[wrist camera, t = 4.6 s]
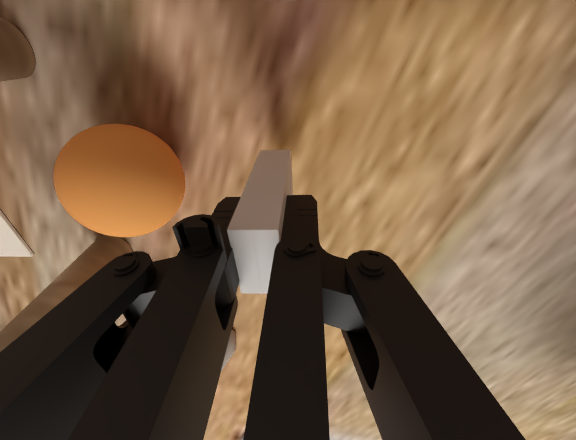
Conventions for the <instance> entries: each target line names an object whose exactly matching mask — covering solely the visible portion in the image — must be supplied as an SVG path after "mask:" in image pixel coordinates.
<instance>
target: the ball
mask: <svg viewBox="0 0 576 440" xmlns="http://www.w3.org/2000/svg"><path fill="white" fill-rule="evenodd" d="M53 179H54V186H55V190H56V193H57V196H58V198H59V200H60V202H61V204H62V205H63V207H64V208H65V210H66V211H67V212H68V213H69V214H70V215H71V216H72V217H73V218H74V219H75V220H76V221H78V222H79V223H80V224H82V225H83V226H85V227H87V228H89V229H90V230H93V231H95V232H98V233H101V234H104V235H108V236H115V237H134V236H140V235H144V234H147V233H150V232H152V231H154V230H156V229H158V228H160V227H162V226H163V225H165V224H166V223H167V222H168V221H169V220H170V219H171V218H172V217H173V216H174V215H175V214H176V212H177V211H178V209H179V207H180V205H181V203H182V200H183V197H184V192H185V176H184V172H183V169H182V166H181V163H180V161H179V159H178V158H177V156H176V154H175V153H174V152H173V150H172V149H171V148H170V147H169V146H168V145H167V144H166V143H165V142H164V141H163V140H161V139H160V138H159V137H157V136H156V135H154V134H152V133H150V132H148V131H146V130H144V129H141V128H138V127H135V126H131V125H125V124H104V125H98V126H94V127H91V128H88V129H86V130H84V131H82V132H80V133H78V134H77V135H75V136H74V137H73V138H71V139H70V140H69V141H68V142H67V143H66V144H65V146H64V147H63V148H62V150H61V151H60V153H59V155H58V157H57V159H56V163H55V167H54V177H53Z"/></svg>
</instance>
